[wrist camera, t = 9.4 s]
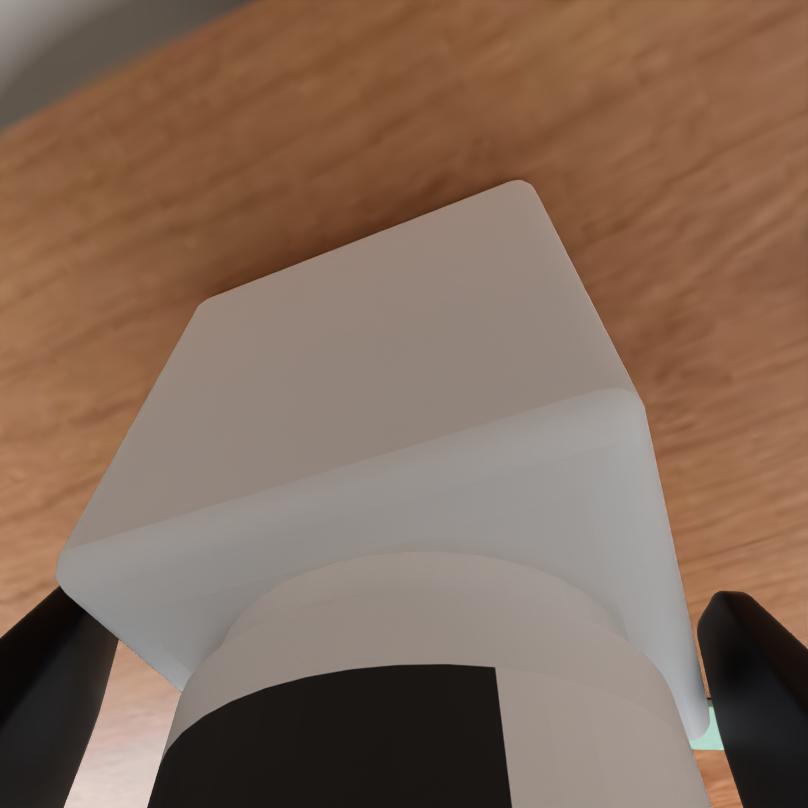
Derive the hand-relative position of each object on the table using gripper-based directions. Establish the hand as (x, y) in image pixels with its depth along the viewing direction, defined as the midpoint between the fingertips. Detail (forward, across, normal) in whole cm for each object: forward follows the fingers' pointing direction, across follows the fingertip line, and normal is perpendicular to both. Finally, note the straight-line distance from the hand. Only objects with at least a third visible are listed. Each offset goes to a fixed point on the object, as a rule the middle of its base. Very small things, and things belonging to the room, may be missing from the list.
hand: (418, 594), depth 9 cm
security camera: (+6, 0, 0) cm, 6 cm away
